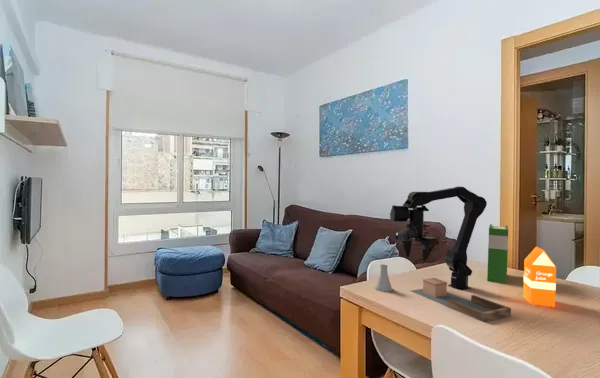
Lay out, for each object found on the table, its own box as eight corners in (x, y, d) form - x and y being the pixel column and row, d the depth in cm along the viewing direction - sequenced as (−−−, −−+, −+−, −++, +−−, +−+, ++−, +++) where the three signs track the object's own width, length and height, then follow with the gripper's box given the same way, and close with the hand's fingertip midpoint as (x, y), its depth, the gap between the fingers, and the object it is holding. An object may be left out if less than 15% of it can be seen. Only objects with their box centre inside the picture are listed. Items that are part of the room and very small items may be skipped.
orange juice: (546, 299, 127) (548, 247, 127) (555, 307, 119) (557, 251, 118) (522, 296, 130) (524, 245, 129) (529, 304, 121) (531, 249, 121)
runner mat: (433, 287, 138) (433, 286, 138) (510, 316, 109) (510, 315, 109) (409, 291, 133) (409, 290, 133) (483, 322, 104) (483, 321, 104)
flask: (393, 293, 130) (393, 268, 130) (374, 291, 132) (374, 266, 132) (391, 287, 138) (392, 263, 137) (373, 286, 139) (374, 262, 139)
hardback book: (488, 272, 165) (489, 224, 164) (505, 274, 161) (507, 225, 161) (487, 280, 150) (488, 228, 149) (506, 283, 146) (508, 229, 146)
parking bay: (473, 301, 122) (473, 294, 122) (510, 315, 109) (511, 308, 109) (447, 306, 116) (447, 299, 116) (484, 322, 104) (484, 314, 104)
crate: (434, 290, 134) (434, 277, 134) (446, 295, 128) (447, 282, 128) (422, 292, 131) (423, 279, 131) (435, 297, 126) (435, 284, 125)
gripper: (385, 220, 143) (385, 256, 143) (419, 225, 126) (418, 266, 126) (405, 219, 148) (405, 254, 148) (439, 224, 131) (439, 263, 131)
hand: (415, 259), depth 138 cm, fingers open, 9 cm apart
